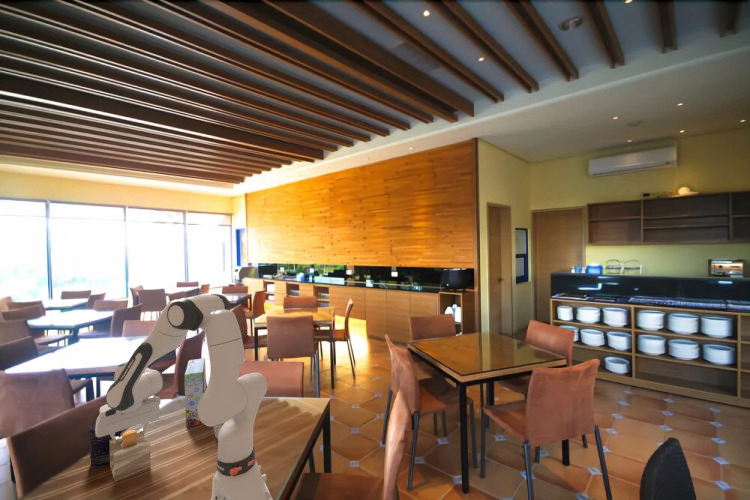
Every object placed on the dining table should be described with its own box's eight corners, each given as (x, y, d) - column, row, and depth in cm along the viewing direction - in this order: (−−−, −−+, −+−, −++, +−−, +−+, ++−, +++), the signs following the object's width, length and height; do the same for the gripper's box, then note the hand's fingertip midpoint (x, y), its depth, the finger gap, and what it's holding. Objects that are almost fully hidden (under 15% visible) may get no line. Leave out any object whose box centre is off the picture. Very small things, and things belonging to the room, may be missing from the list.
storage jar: (96, 455, 134) (96, 419, 134) (125, 449, 137) (125, 414, 137) (85, 470, 125) (84, 432, 124) (116, 464, 128) (115, 426, 128)
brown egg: (135, 439, 130) (135, 428, 130) (138, 444, 127) (137, 433, 127) (121, 444, 127) (121, 433, 127) (123, 449, 124) (123, 438, 124)
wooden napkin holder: (150, 467, 126) (150, 441, 126) (114, 481, 119) (114, 454, 118) (143, 452, 136) (143, 428, 135) (109, 465, 128) (109, 439, 128)
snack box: (188, 407, 173) (188, 359, 173) (207, 404, 177) (206, 357, 176) (184, 428, 153) (183, 374, 153) (205, 424, 157) (204, 371, 157)
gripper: (158, 391, 136) (159, 424, 136) (94, 409, 122) (95, 445, 122) (162, 396, 132) (162, 430, 132) (95, 415, 117) (96, 453, 118)
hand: (129, 438), depth 127 cm, fingers open, 7 cm apart
